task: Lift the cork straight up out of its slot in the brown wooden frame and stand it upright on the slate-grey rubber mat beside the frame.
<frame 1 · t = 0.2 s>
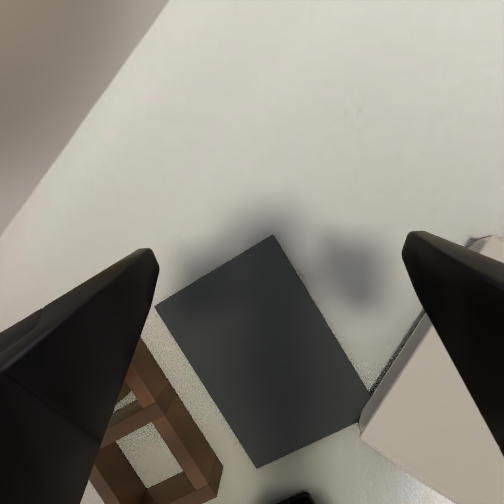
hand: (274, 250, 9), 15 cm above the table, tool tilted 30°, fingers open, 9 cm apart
book: (482, 371, 23), on the table, touching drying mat
brown wooden frame: (132, 410, 27), on the table
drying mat: (264, 354, 25), on the table
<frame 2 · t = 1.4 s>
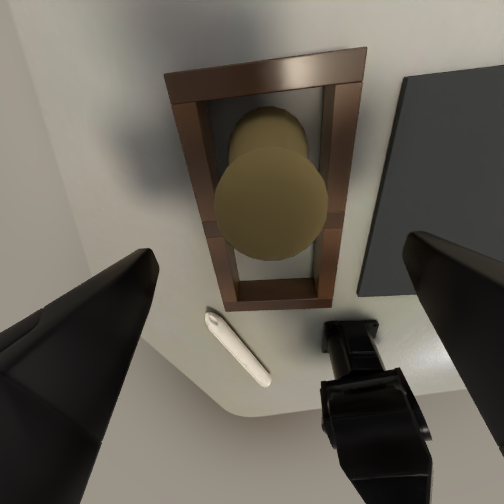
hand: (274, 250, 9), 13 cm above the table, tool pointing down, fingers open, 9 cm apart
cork: (267, 151, 19), resting in brown wooden frame
white rod: (240, 343, 35), on the table
brown wooden frame: (271, 207, 22), on the table
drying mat: (458, 208, 21), on the table
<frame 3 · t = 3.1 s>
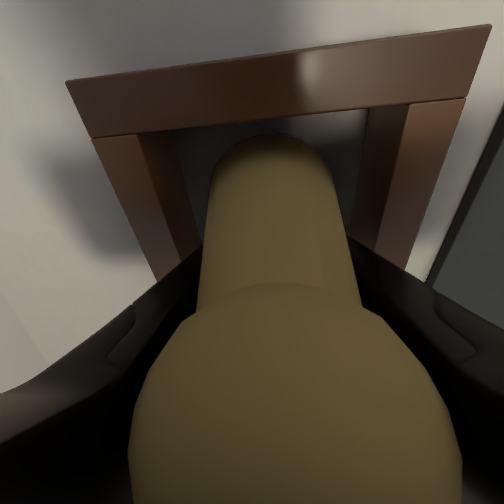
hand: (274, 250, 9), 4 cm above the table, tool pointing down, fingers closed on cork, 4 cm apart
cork: (270, 199, 12), resting in brown wooden frame, touching gripper
brown wooden frame: (275, 273, 15), on the table
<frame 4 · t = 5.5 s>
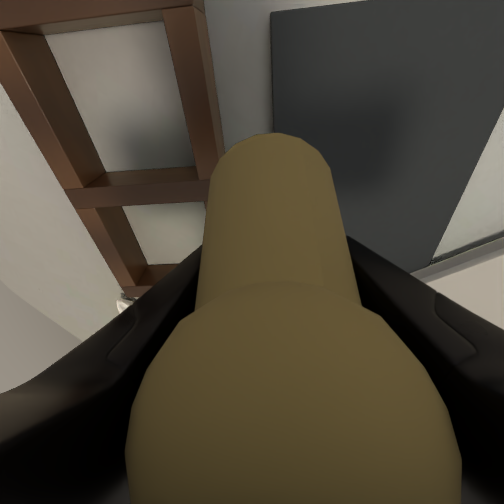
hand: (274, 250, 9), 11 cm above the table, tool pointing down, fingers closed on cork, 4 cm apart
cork: (270, 198, 12), point 7 cm above the table, touching gripper
brown wooden frame: (158, 178, 19), on the table
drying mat: (366, 183, 19), on the table
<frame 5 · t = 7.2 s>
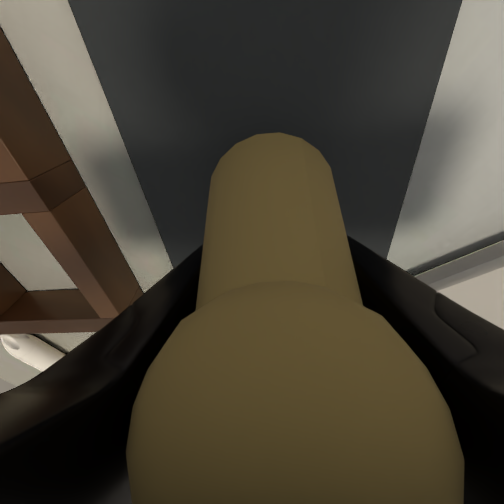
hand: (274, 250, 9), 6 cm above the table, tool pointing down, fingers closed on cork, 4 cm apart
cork: (270, 198, 12), point 2 cm above the table, touching gripper
white rod: (88, 367, 27), on the table
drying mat: (271, 183, 13), on the table
when the fingers open (5 cm above the table, at t = 8.0 s): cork stays where it is, resting on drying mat.
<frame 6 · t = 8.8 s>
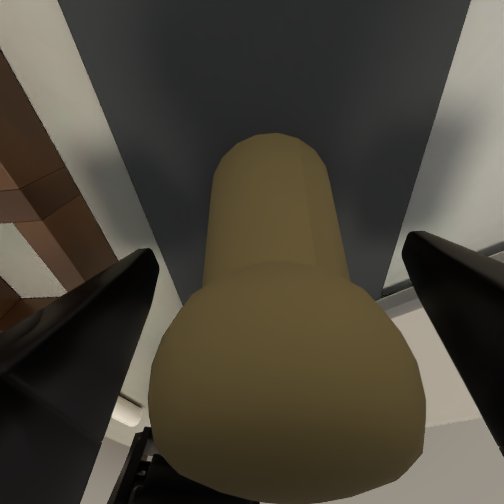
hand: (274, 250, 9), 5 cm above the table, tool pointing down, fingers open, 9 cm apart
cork: (269, 195, 13), resting on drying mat
white rod: (85, 374, 27), on the table
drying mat: (271, 190, 13), on the table
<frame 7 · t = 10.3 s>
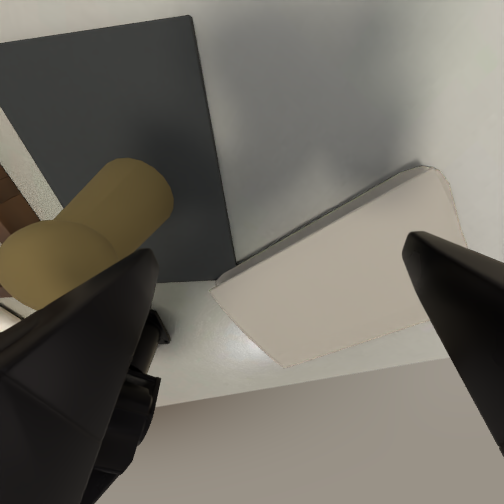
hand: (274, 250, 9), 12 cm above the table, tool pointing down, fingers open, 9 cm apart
book: (334, 278, 25), on the table, touching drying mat
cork: (137, 194, 20), resting on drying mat
white rod: (46, 335, 34), on the table
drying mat: (140, 191, 21), on the table
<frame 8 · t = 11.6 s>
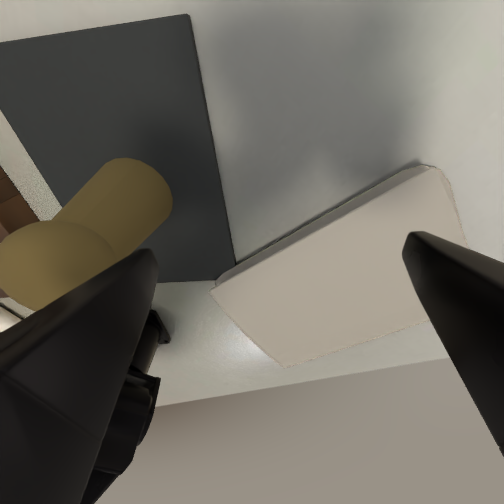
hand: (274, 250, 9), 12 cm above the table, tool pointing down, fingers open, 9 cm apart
book: (334, 278, 25), on the table, touching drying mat
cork: (136, 194, 20), resting on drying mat
white rod: (47, 334, 34), on the table
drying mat: (139, 191, 20), on the table
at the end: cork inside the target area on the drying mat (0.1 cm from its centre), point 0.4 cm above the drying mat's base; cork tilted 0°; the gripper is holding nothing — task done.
